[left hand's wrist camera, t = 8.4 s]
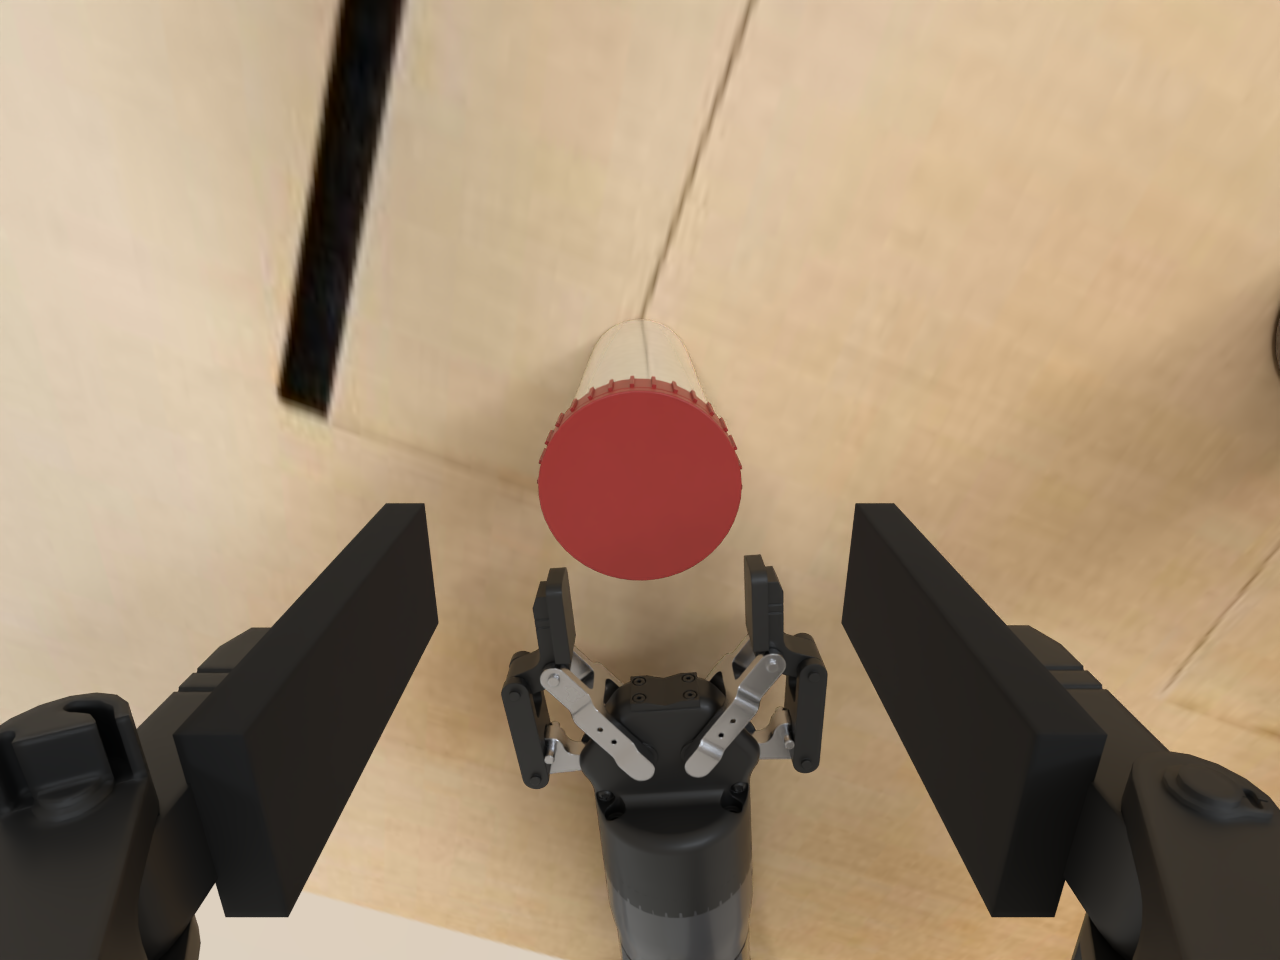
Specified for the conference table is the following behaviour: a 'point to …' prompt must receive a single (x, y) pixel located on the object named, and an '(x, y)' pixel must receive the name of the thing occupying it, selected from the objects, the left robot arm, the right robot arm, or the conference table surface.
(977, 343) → the conference table surface
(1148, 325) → the conference table surface
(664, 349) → the bottle
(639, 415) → the lid
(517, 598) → the conference table surface
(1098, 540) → the conference table surface
